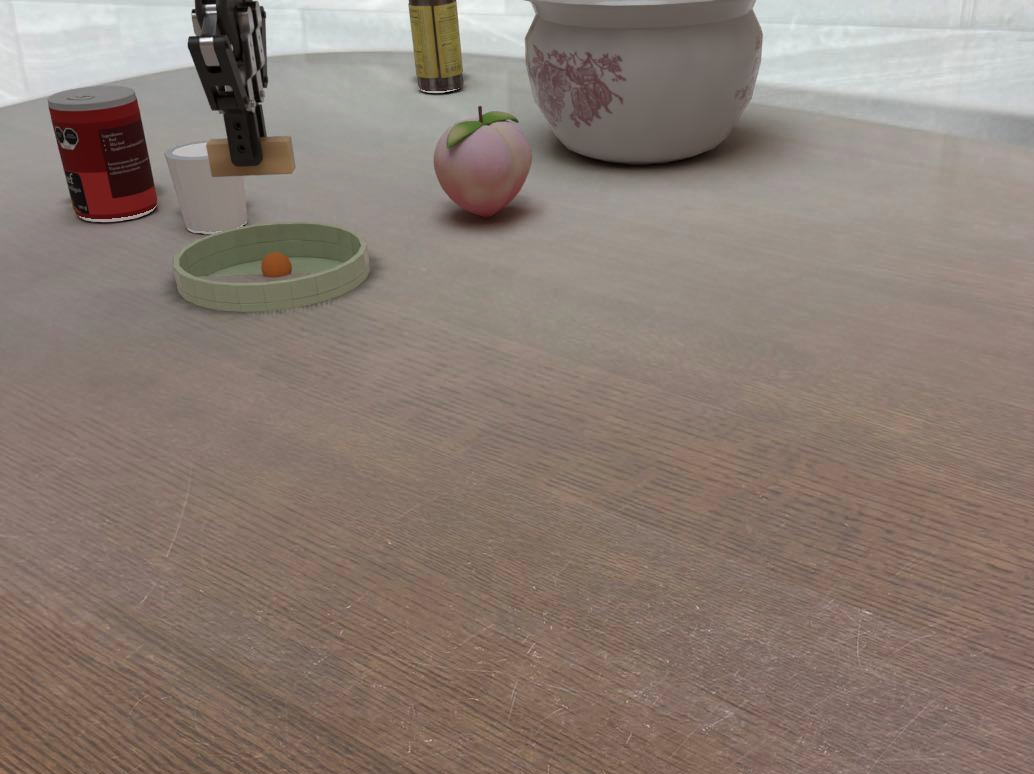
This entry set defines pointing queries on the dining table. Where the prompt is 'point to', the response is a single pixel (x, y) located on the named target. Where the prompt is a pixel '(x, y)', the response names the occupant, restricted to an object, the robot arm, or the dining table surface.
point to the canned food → (103, 151)
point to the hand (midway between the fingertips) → (251, 160)
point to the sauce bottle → (436, 44)
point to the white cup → (205, 190)
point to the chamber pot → (642, 74)
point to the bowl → (242, 252)
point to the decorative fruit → (483, 162)
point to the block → (274, 162)
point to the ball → (276, 265)
